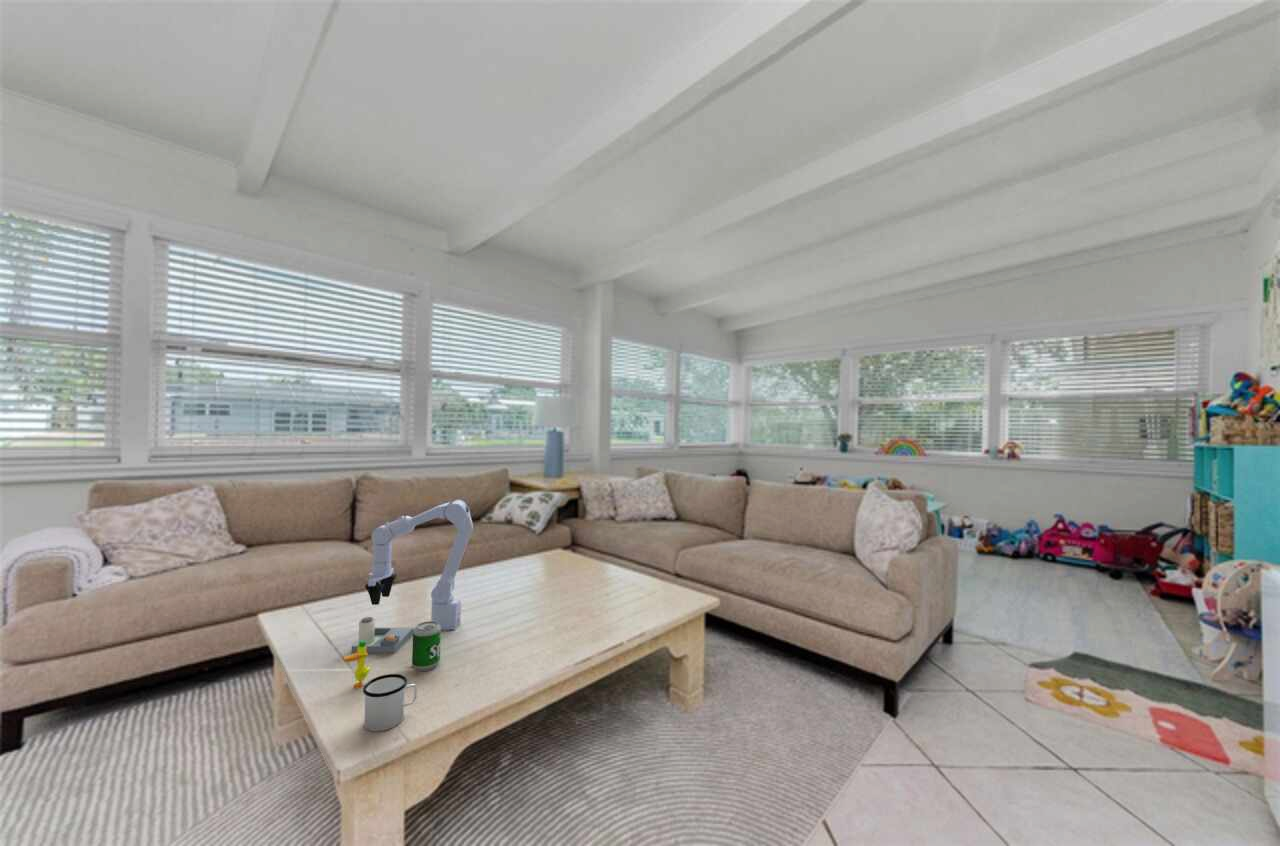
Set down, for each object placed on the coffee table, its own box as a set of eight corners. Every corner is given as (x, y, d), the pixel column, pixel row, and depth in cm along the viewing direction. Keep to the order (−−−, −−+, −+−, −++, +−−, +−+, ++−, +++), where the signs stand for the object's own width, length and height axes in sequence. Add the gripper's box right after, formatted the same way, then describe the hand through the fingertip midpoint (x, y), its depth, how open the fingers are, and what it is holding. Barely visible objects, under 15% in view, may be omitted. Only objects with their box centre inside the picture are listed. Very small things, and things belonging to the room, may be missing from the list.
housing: (413, 634, 163) (413, 622, 163) (395, 654, 149) (395, 641, 149) (373, 634, 162) (373, 622, 162) (351, 654, 148) (351, 641, 148)
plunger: (396, 641, 152) (396, 634, 152) (392, 644, 150) (392, 638, 150) (387, 641, 152) (387, 634, 152) (383, 644, 150) (383, 638, 150)
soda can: (422, 675, 137) (423, 632, 137) (406, 667, 141) (407, 626, 141) (445, 664, 144) (446, 624, 144) (429, 657, 148) (430, 618, 148)
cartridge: (370, 637, 154) (370, 615, 154) (377, 641, 152) (377, 618, 152) (355, 642, 151) (356, 619, 151) (362, 645, 148) (363, 623, 148)
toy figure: (344, 693, 127) (346, 647, 127) (341, 687, 129) (343, 643, 130) (373, 684, 131) (374, 640, 132) (369, 679, 134) (371, 636, 134)
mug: (368, 739, 109) (369, 699, 109) (356, 720, 116) (357, 682, 116) (422, 718, 117) (424, 680, 117) (408, 701, 124) (409, 666, 124)
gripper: (379, 555, 174) (378, 593, 174) (359, 566, 159) (357, 608, 159) (400, 555, 174) (398, 593, 174) (381, 567, 160) (379, 608, 160)
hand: (380, 600), depth 167 cm, fingers open, 7 cm apart
